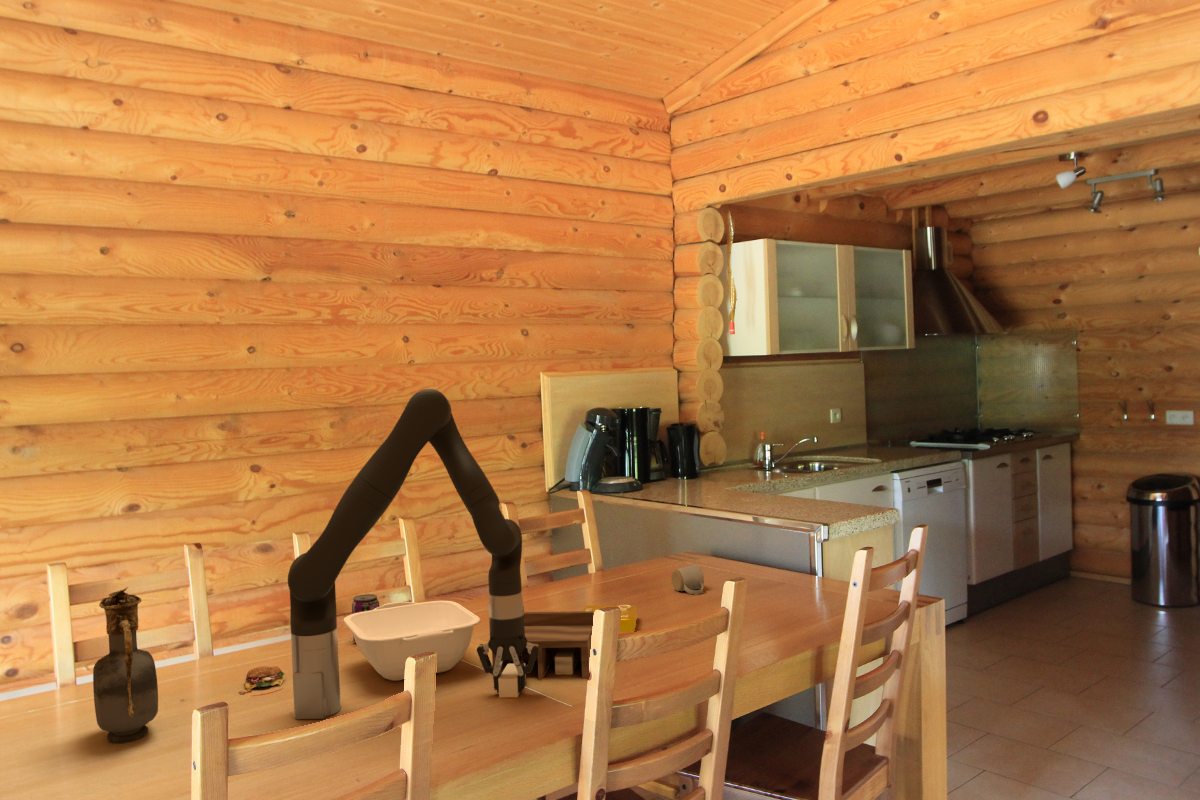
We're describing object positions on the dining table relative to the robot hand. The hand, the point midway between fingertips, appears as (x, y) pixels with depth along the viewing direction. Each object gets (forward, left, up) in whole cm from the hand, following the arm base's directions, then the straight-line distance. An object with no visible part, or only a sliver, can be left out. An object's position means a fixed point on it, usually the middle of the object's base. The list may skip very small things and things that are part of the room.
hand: (510, 691), depth 194 cm
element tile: (+52, -17, -1) cm, 55 cm away
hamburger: (+6, +60, -1) cm, 60 cm away
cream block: (+3, 0, -1) cm, 3 cm away
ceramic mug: (+90, -39, -1) cm, 98 cm away
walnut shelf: (+17, -5, -1) cm, 18 cm away
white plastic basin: (+17, +27, -1) cm, 32 cm away
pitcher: (-24, +72, -1) cm, 76 cm away
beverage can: (+40, +47, -1) cm, 62 cm away
